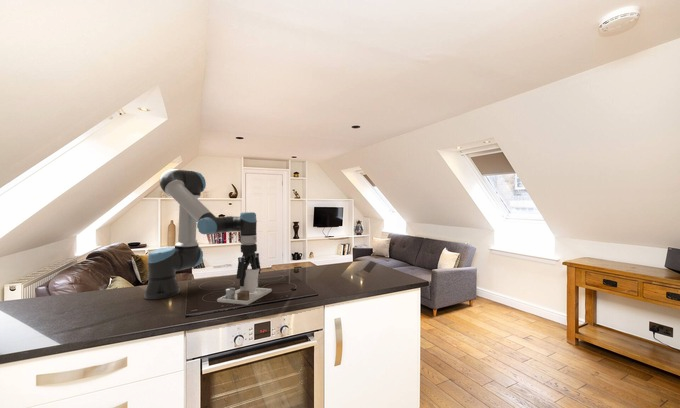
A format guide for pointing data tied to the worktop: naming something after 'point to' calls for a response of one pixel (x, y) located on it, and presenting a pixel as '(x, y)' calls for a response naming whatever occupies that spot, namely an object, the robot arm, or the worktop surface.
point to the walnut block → (243, 295)
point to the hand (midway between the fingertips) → (249, 289)
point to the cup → (251, 280)
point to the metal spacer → (230, 293)
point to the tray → (252, 296)
